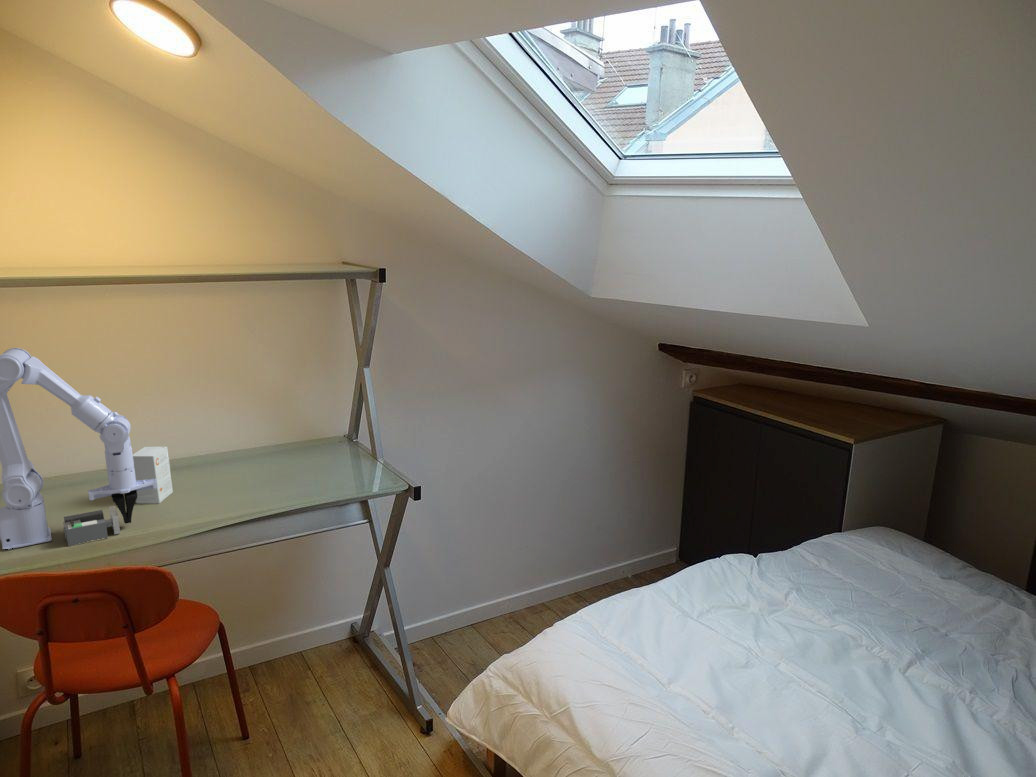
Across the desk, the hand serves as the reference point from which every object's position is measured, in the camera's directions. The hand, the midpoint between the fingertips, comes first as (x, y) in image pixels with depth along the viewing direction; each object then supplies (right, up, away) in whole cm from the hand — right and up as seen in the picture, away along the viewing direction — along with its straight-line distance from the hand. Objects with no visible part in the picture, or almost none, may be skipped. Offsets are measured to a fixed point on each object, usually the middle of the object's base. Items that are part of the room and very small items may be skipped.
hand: (127, 521), depth 185 cm
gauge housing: (-7, -2, -4) cm, 9 cm away
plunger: (-6, -2, -4) cm, 8 cm away
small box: (-2, +3, +19) cm, 19 cm away
